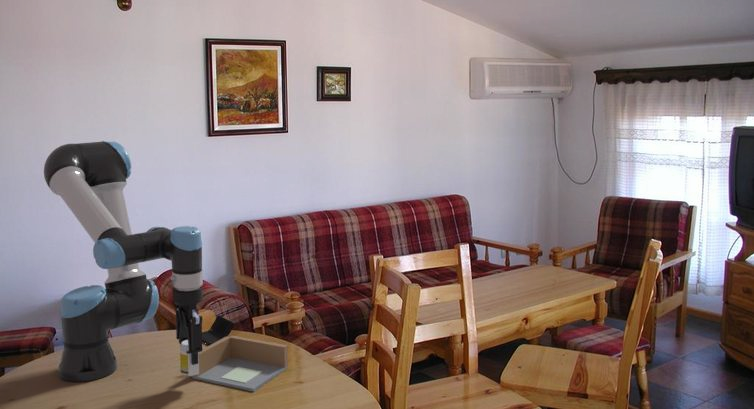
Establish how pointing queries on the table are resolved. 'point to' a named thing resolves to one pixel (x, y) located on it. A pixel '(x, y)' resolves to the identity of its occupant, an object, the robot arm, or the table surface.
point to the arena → (242, 362)
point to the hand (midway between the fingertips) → (189, 370)
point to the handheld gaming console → (217, 330)
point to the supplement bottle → (184, 357)
